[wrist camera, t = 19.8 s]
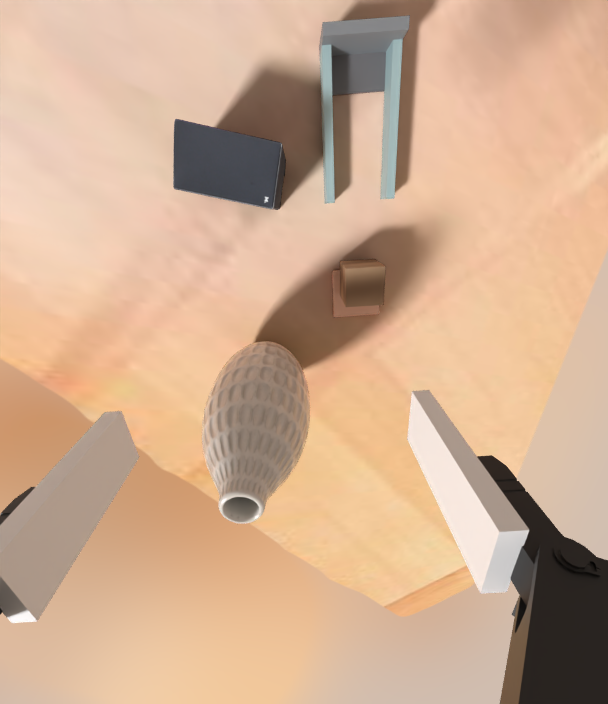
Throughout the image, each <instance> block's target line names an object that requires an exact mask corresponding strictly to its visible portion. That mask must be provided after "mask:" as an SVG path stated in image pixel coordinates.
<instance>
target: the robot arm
mask: <svg viewBox="0 0 608 704" xmlns="http://www.w3.org/2000/svg"><path fill="white" fill-rule="evenodd" d="M407 440H408V442H409V444H410V446H411V448H412V450H413V452H414V454H415V456H416V459H417V461H418V463H419V465H420V467H421V469H422V471H423V473H424V475H425V478H426V480H427V482H428V484H429V486H430V488H431V490H432V492H433V494H434V497H435V499H436V501H437V503H438V505H439V507H440V509H441V511H442V513H443V516H444V518H445V520H446V522H447V524H448V526H449V528H450V530H451V532H452V535H453V537H454V539H455V541H456V543H457V545H458V547H459V549H460V551H461V554H462V556H463V558H464V560H465V562H466V564H467V566H468V568H469V570H470V573H471V575H472V577H473V579H474V581H475V583H476V585H477V587H478V589H479V591H480V593H493V592H494V593H495V592H507V589H508V586H509V584H510V581H511V580H512V582H513V584H514V586H515V587H516V589H517V591H518V593H519V594H520V596H519V598H518V601H517V603H516V605H515V608H514V610H513V613H512V615H513V616H515V619H514V625H513V630H512V637H511V642H510V648H509V654H508V659H507V665H506V671H505V677H504V683H503V689H502V695H501V700H500V704H608V560H604V559H601V558H598V557H596V556H595V555H594V554H593V553H592V552H590V551H589V550H588V549H587V548H586V547H584V546H583V545H581V544H579V543H577V542H576V541H574V540H571V539H569V538H566V537H564V536H563V535H562V534H561V533H560V532H559V531H558V529H557V528H556V527H555V526H554V524H553V523H552V522H551V521H550V519H549V518H548V517H547V516H546V515H545V513H544V512H543V511H542V510H541V508H540V507H539V506H538V505H537V503H536V502H535V501H534V500H533V498H532V497H531V496H530V495H529V493H528V492H526V491H525V488H524V487H523V486H522V485H521V484H520V482H519V481H517V478H516V477H515V476H514V475H513V474H512V472H511V471H510V470H509V469H508V467H507V466H506V465H504V464H503V463H502V462H500V461H499V460H497V459H496V458H495V457H493V456H478V457H477V456H476V455H475V453H474V452H473V451H472V449H471V448H470V446H469V445H468V444H467V442H466V441H465V439H464V438H463V437H462V435H461V434H460V432H459V431H458V430H457V428H456V427H455V425H454V424H453V423H452V421H451V420H450V418H449V417H448V416H447V414H446V413H445V411H444V410H443V409H442V407H441V406H440V405H439V403H438V402H437V400H436V399H435V398H434V396H433V395H432V393H431V392H430V391H429V390H423V391H412V397H411V407H410V418H409V428H408V438H407ZM138 459H139V455H138V453H137V450H136V447H135V445H134V442H133V440H132V437H131V434H130V432H129V429H128V427H127V424H126V422H125V419H124V416H123V414H122V411H117V412H104V414H103V415H102V416H101V417H100V418H99V419H98V420H97V421H96V422H95V423H94V424H93V426H92V427H91V428H90V429H89V430H88V431H87V432H86V433H85V434H84V435H83V436H82V437H81V439H80V440H79V441H78V442H77V443H76V444H75V445H74V446H73V447H72V448H71V449H70V450H69V451H68V453H67V454H66V455H65V456H64V457H63V458H62V459H61V460H60V461H59V462H58V463H57V465H55V467H54V468H53V469H52V470H51V471H50V472H49V473H48V474H47V475H46V476H45V478H43V480H42V481H41V482H40V483H39V484H38V485H37V486H36V487H31V488H30V489H28V490H27V491H25V492H24V493H22V494H21V495H20V496H18V497H17V498H15V499H14V500H13V501H12V502H11V503H10V504H9V505H8V506H7V507H6V508H5V510H3V512H2V513H1V515H0V614H1V613H2V612H3V614H4V615H5V616H6V617H7V618H8V619H9V620H10V621H11V623H18V622H34V621H38V619H39V618H40V616H41V615H42V613H43V611H44V610H45V608H46V607H47V605H48V603H49V602H50V600H51V598H52V597H53V595H54V594H55V592H56V590H57V589H58V587H59V585H60V584H61V582H62V581H63V579H64V578H65V576H66V574H67V573H68V571H69V570H70V568H71V566H72V565H73V563H74V562H75V560H76V558H77V557H78V555H79V554H80V552H81V550H82V549H83V547H84V545H85V544H86V542H87V541H88V539H89V537H90V536H91V534H92V533H93V531H94V529H95V528H96V526H97V525H98V523H99V521H100V520H101V518H102V517H103V515H104V513H105V512H106V510H107V509H108V507H109V505H110V504H111V502H112V500H113V499H114V497H115V496H116V494H117V492H118V491H119V489H120V488H121V486H122V484H123V483H124V481H125V480H126V478H127V476H128V475H129V473H130V472H131V470H132V468H133V467H134V465H135V463H136V462H137V460H138Z"/></svg>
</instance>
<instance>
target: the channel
mask: <svg viewBox="0 0 608 704" xmlns="http://www.w3.org/2000/svg"><path fill="white" fill-rule="evenodd" d="M409 18H410V16H398V17H385V18H372V19H359V20H347V21H334V22H323V24H322V31H321V38H320V45H319V50H320V79H321V108H322V138H323V167H324V196H325V203H335V195H334V149H333V104H332V95H343V94H356V93H369V92H382V91H384V114H383V143H382V172H381V199H392V198H394V195H395V176H396V157H397V138H398V118H399V99H400V80H401V61H402V41H403V38H404V36H405V35H406V33H407V31H408V30H409Z"/></svg>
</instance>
